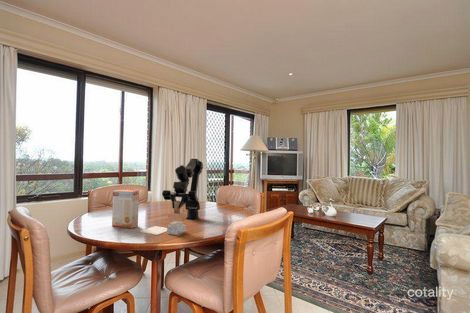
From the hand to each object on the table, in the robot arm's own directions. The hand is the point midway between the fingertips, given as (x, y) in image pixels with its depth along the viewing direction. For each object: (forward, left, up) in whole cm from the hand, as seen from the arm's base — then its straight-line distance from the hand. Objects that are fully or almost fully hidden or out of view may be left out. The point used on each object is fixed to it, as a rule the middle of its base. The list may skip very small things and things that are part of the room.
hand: (176, 208), depth 133 cm
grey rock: (0, +1, -13) cm, 14 cm away
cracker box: (-34, -2, -14) cm, 37 cm away
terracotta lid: (0, +1, -5) cm, 5 cm away
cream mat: (-12, -1, -13) cm, 18 cm away
